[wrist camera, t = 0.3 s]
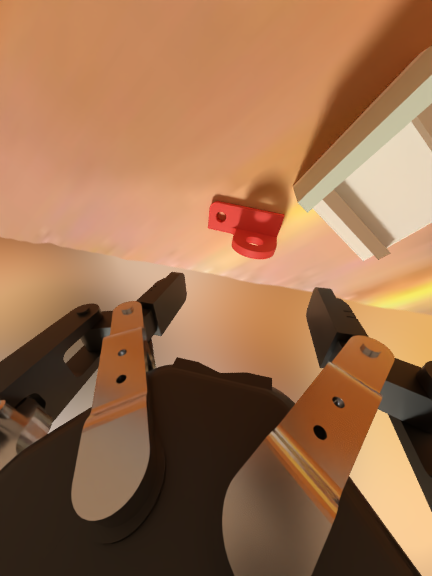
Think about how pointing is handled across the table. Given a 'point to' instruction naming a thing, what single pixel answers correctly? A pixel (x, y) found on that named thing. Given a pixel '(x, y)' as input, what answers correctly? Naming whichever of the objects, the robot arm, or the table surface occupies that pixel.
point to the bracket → (247, 228)
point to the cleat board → (379, 168)
